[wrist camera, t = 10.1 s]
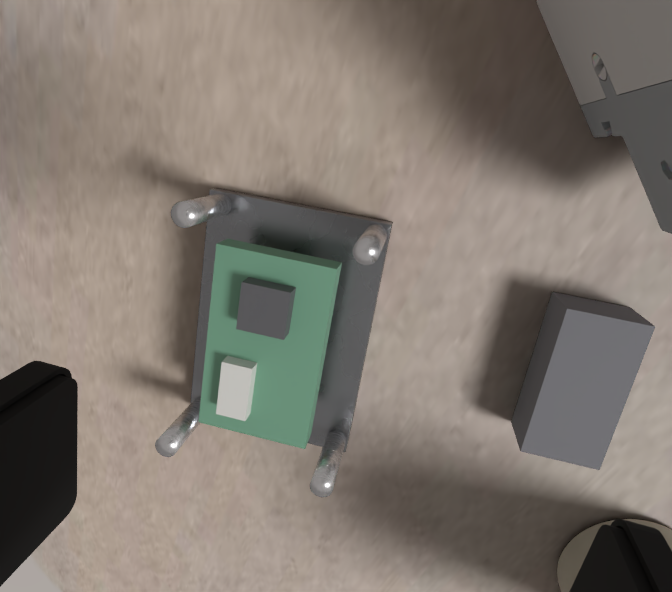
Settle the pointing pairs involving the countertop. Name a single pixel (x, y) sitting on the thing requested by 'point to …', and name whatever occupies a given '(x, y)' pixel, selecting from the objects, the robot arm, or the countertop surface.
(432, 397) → the countertop surface
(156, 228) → the countertop surface
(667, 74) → the circuit breaker
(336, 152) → the countertop surface
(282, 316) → the board
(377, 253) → the chassis
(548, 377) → the block
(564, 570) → the travel mug
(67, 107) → the countertop surface
